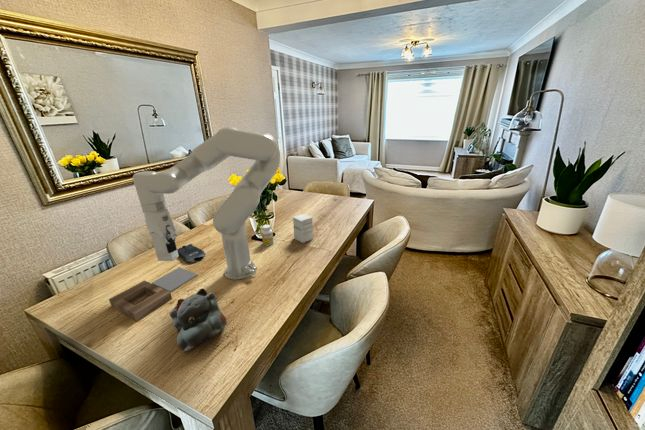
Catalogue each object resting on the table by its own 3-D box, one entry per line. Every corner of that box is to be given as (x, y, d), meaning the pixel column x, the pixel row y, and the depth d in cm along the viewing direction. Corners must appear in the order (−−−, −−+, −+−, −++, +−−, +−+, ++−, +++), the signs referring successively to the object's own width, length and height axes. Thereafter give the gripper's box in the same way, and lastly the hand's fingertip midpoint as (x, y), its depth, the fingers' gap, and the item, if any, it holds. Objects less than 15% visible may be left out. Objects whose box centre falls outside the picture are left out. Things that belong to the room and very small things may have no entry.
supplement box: (293, 238, 134) (292, 216, 130) (305, 234, 139) (303, 213, 134) (302, 243, 129) (300, 221, 124) (313, 239, 134) (312, 217, 129)
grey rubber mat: (197, 275, 105) (197, 274, 105) (170, 292, 96) (170, 291, 95) (179, 268, 111) (179, 267, 110) (151, 283, 101) (151, 282, 101)
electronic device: (174, 259, 121) (189, 265, 112) (172, 248, 120) (187, 253, 111) (194, 253, 128) (209, 258, 119) (192, 242, 127) (208, 247, 118)
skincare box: (179, 256, 101) (173, 228, 97) (172, 262, 97) (166, 233, 93) (164, 255, 101) (157, 228, 97) (156, 261, 97) (149, 233, 93)
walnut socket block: (172, 298, 92) (170, 292, 91) (137, 321, 82) (134, 314, 81) (146, 286, 99) (144, 280, 98) (111, 306, 89) (108, 299, 88)
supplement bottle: (263, 241, 133) (261, 224, 129) (274, 240, 133) (272, 223, 129) (262, 246, 128) (260, 228, 124) (273, 245, 128) (271, 228, 124)
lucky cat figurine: (170, 359, 69) (152, 312, 69) (190, 338, 81) (174, 298, 81) (223, 336, 71) (205, 290, 70) (234, 319, 83) (219, 280, 82)
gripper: (179, 206, 90) (189, 249, 97) (150, 199, 98) (161, 240, 105) (158, 213, 84) (171, 259, 91) (129, 205, 92) (143, 248, 98)
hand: (166, 249), depth 98 cm, fingers closed on skincare box, 7 cm apart
